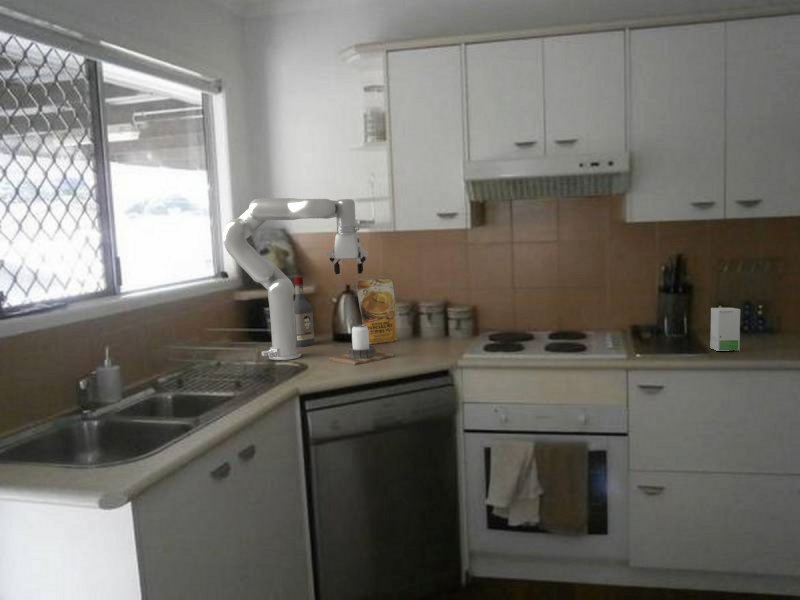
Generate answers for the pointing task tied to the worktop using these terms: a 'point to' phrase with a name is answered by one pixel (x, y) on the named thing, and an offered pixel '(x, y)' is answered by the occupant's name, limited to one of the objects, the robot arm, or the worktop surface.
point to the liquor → (302, 316)
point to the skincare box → (725, 329)
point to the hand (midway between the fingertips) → (348, 273)
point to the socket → (361, 356)
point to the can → (360, 337)
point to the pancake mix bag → (378, 308)
